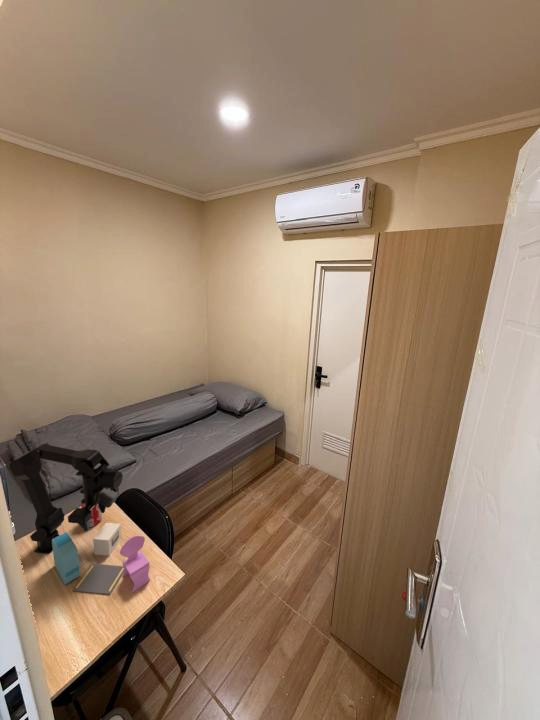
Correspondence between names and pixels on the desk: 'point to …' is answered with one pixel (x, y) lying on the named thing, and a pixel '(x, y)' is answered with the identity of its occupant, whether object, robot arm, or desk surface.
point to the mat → (100, 579)
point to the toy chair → (135, 561)
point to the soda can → (94, 515)
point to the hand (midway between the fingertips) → (95, 521)
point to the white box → (107, 539)
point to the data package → (66, 557)
